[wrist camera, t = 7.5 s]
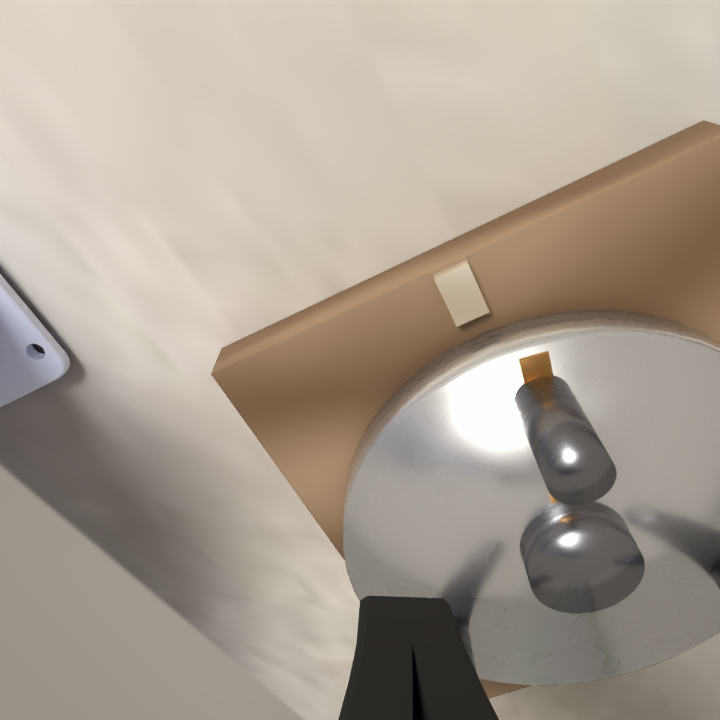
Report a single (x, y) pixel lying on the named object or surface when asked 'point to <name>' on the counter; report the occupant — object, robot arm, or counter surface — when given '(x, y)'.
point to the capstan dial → (551, 494)
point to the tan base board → (481, 306)
